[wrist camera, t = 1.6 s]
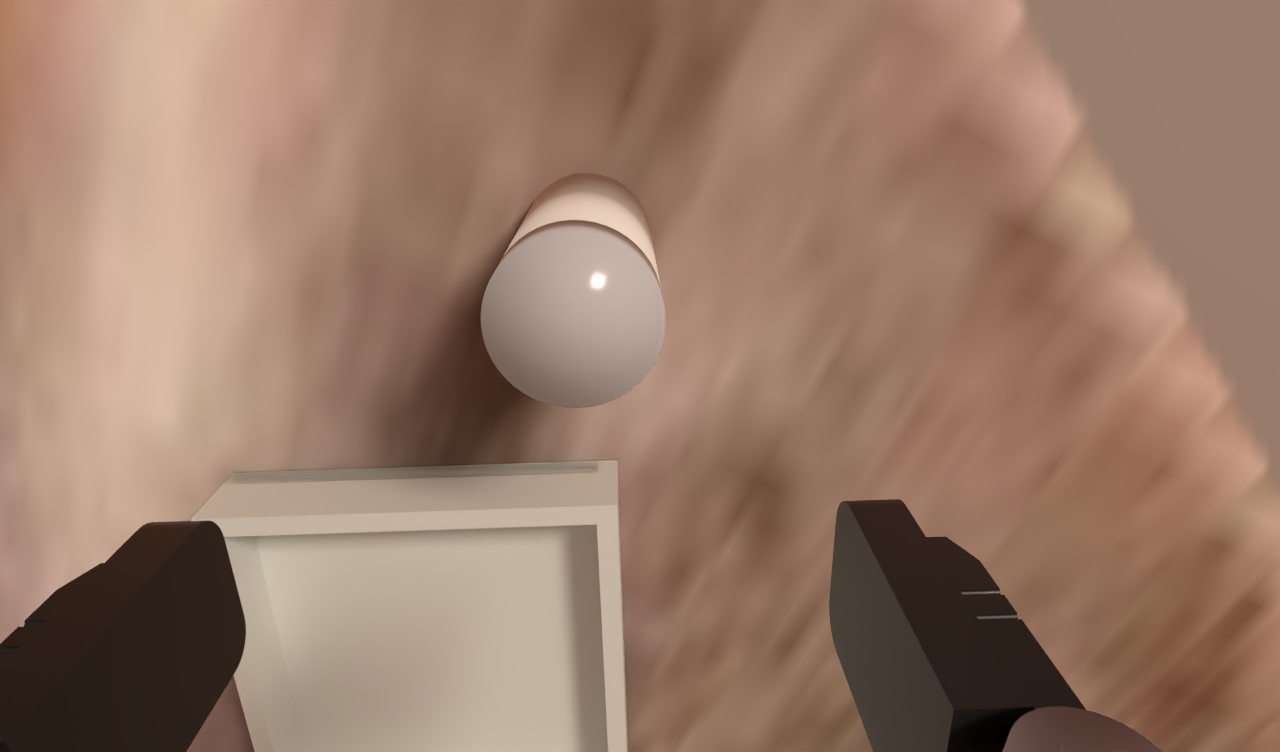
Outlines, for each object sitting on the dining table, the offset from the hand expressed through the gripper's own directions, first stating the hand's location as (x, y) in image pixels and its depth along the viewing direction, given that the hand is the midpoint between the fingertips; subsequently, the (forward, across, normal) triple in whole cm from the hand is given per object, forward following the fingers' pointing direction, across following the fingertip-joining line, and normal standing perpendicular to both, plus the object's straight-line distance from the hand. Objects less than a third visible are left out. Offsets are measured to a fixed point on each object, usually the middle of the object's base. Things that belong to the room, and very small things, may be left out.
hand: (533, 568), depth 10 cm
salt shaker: (+20, 0, 0) cm, 20 cm away
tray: (+20, +7, +18) cm, 28 cm away
